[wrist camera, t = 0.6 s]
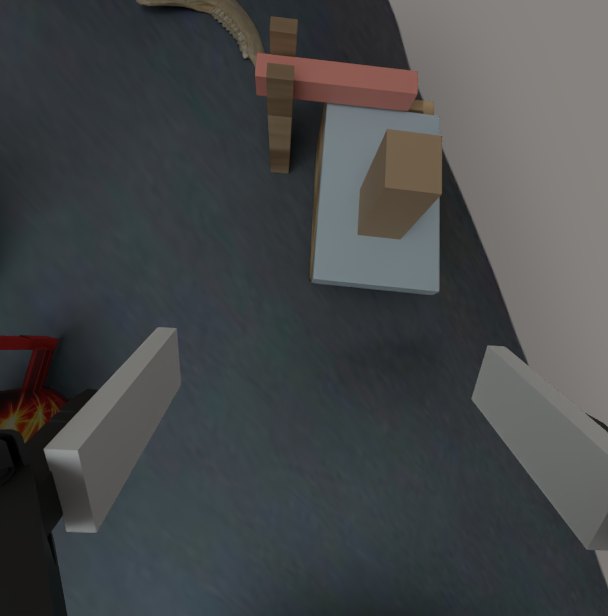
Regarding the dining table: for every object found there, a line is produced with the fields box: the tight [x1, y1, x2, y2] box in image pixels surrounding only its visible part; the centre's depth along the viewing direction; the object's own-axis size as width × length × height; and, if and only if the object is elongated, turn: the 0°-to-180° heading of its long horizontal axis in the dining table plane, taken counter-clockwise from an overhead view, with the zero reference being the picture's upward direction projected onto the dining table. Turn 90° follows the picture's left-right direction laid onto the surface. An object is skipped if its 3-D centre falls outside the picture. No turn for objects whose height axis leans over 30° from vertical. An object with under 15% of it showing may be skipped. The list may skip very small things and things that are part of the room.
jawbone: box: [136, 0, 265, 68], centre depth 39 cm, size 9×20×2 cm, turn 57°
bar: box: [255, 53, 418, 111], centre depth 28 cm, size 2×13×2 cm, turn 87°
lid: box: [312, 103, 442, 295], centre depth 25 cm, size 16×10×9 cm, turn 175°
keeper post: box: [266, 16, 298, 174], centre depth 31 cm, size 5×2×13 cm, turn 177°
